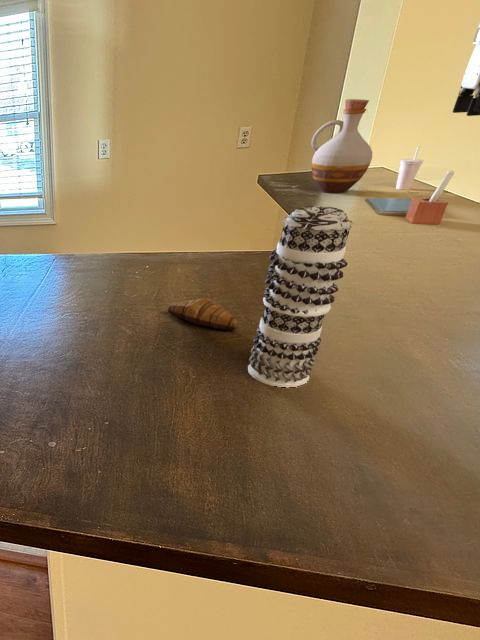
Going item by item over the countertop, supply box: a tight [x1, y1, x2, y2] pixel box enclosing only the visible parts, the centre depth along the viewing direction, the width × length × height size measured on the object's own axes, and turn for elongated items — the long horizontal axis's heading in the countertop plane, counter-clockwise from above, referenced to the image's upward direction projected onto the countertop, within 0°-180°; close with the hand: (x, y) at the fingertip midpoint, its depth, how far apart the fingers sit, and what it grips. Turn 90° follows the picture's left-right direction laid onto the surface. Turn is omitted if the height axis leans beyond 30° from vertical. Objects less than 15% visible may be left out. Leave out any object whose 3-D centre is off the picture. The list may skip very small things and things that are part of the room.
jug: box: [311, 98, 373, 194], centre depth 170 cm, size 20×18×30 cm
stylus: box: [429, 170, 455, 201], centre depth 134 cm, size 2×2×14 cm
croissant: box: [167, 297, 239, 331], centre depth 90 cm, size 14×7×5 cm, turn 43°
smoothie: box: [395, 146, 424, 191], centre depth 169 cm, size 6×6×14 cm
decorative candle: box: [247, 205, 355, 389], centre depth 68 cm, size 9×9×25 cm
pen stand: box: [405, 196, 449, 225], centre depth 136 cm, size 6×6×6 cm
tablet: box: [364, 197, 412, 216], centre depth 151 cm, size 14×20×1 cm
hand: (466, 113), depth 125 cm, fingers open, 9 cm apart
